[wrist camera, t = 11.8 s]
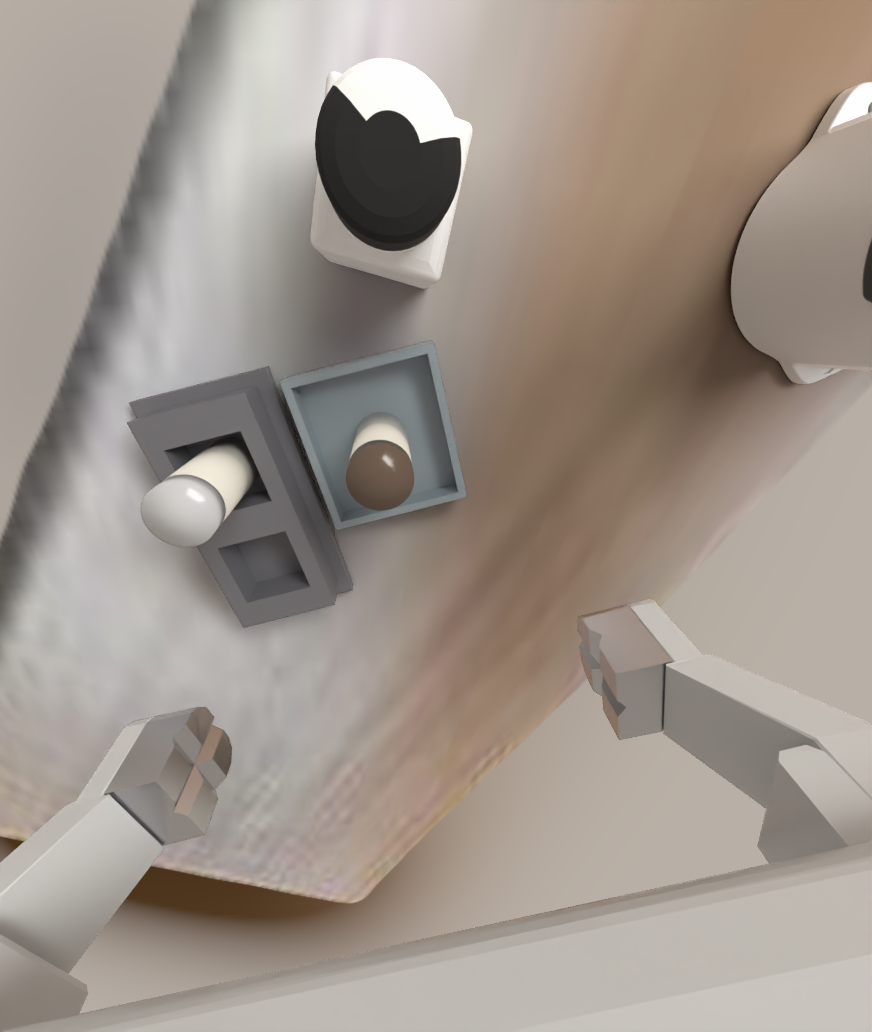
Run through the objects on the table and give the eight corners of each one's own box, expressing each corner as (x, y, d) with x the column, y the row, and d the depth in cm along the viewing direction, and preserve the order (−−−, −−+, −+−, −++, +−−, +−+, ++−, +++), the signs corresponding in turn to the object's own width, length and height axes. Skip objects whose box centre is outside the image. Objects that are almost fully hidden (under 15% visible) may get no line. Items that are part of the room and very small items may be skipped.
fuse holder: (136, 400, 31) (103, 411, 27) (268, 366, 30) (252, 373, 27) (250, 609, 39) (237, 639, 36) (353, 583, 39) (350, 610, 36)
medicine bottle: (427, 290, 30) (452, 276, 19) (325, 260, 28) (288, 227, 17) (454, 167, 27) (500, 69, 16) (341, 128, 25) (309, -11, 15)
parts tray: (430, 340, 31) (434, 342, 29) (461, 485, 36) (466, 497, 34) (287, 376, 31) (279, 381, 29) (339, 517, 36) (336, 530, 34)
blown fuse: (399, 406, 32) (404, 439, 24) (412, 454, 34) (421, 501, 25) (349, 419, 32) (336, 456, 24) (364, 467, 34) (358, 517, 25)
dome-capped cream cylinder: (247, 432, 31) (196, 476, 23) (269, 480, 33) (228, 537, 25) (196, 445, 31) (126, 493, 23) (220, 492, 33) (163, 554, 25)
